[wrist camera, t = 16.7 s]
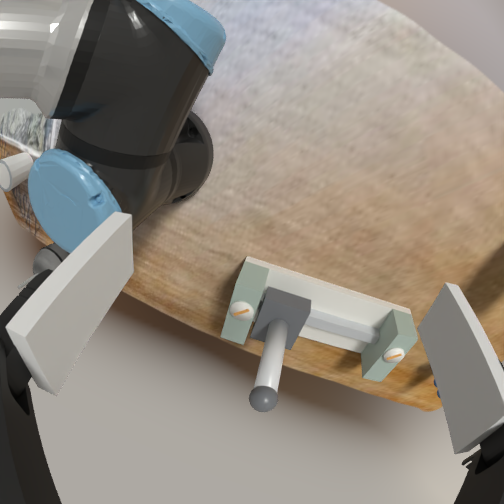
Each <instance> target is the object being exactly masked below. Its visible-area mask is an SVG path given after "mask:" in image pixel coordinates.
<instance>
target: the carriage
mask: <svg viewBox="0 0 504 504" xmlns="http://www.w3.org/2000/svg"><path fill="white" fill-rule="evenodd" d="M310 312H311V300H310V299H307V298H304V297H300V296H297V295H294V294H291V293H288V292H285V291H282V290H279V289H276V288H273V287H269V286H268V288H267V291H266V294H265V296H264V299H263V302H262V304H261V307H260V310H259V312H258V315H257V318H256V320H255V323H254V326H253V329H252V332H251V336H250V338H253V339H256V340H259V341H263V342H265V344H264V348H263V353H262V357H261V361H260V365H259V369H258V374H257V377H256V381H255V385H254V389H253V390H252V391H251V393H250V395H249V401H250V404H251V406H252V407H253V408H254V409H255V410H257V411H259V412H268V411H270V410H272V409H273V408H274V407H275V406H276V404H277V402H278V395H277V389H278V384H279V379H280V373H281V368H282V362H283V356H284V350H285V348H286V349H289V350H291V348H292V346H293V344H294V343H295V341H296V339H297V337H298V335H299V333H300V332H301V330H302V328H303V326H304V324H305V322H306V320H307V318H308V317H309V315H310Z"/></svg>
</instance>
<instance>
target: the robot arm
mask: <svg viewBox="0 0 504 504" xmlns="http://www.w3.org/2000/svg"><path fill="white" fill-rule="evenodd" d="M225 41H226V34H225V30H224V28H223V26H222V25H221V23H220V22H219V21H218V20H217V19H216V18H215V17H213V16H212V15H211V14H209V13H208V12H207V11H205V10H204V9H202V8H201V7H199V6H198V5H196V4H194V3H193V2H191V1H189V0H0V98H22V99H23V98H24V99H31V100H33V101H34V102H35V103H36V104H37V106H38V107H39V109H40V110H41V112H42V113H43V115H44V116H45V118H49V119H62V122H61V126H60V130H59V134H58V139H57V143H56V146H55V148H54V149H50V150H47V151H45V152H43V153H42V155H41V156H40V158H38V159H37V160H36V161H35V162H34V163H33V165H32V167H31V169H30V172H29V177H28V193H29V198H30V202H31V206H32V209H33V211H34V213H35V216H36V218H37V219H38V221H39V222H40V224H41V226H42V228H43V229H44V231H45V232H46V233H47V235H48V236H49V237H50V238H51V239H52V240H53V241H54V242H55V243H56V244H57V245H58V246H60V247H61V248H62V249H64V250H65V251H67V252H68V253H70V255H69V256H68V257H67V258H66V259H65V260H64V261H63V262H62V263H61V264H60V265H59V266H58V267H57V268H56V269H55V270H54V271H53V270H50V269H47V270H45V271H43V272H41V273H40V274H38V275H36V276H35V277H34V278H33V279H32V280H31V281H30V282H29V283H28V284H27V286H26V288H24V289H23V290H22V291H21V292H20V293H19V296H17V297H16V298H15V299H14V300H13V301H12V302H11V303H10V305H9V306H8V307H7V308H6V309H5V310H4V311H3V313H2V314H1V315H0V504H62V503H61V501H60V498H59V496H58V493H57V490H56V488H55V485H54V482H53V479H52V476H51V473H50V470H49V467H48V464H47V461H46V458H45V454H44V451H43V447H42V443H41V439H40V435H39V431H38V427H37V423H36V418H35V413H34V409H33V404H32V398H31V392H30V388H29V386H28V382H29V380H30V378H31V377H32V378H33V379H34V381H35V383H36V384H37V386H38V387H39V388H41V389H43V390H45V391H47V392H49V393H51V394H53V395H55V396H57V395H58V393H59V391H60V389H61V387H62V386H63V384H64V382H65V380H66V379H67V377H68V375H69V373H70V372H71V370H72V368H73V366H74V364H75V363H76V361H77V360H78V358H79V356H80V354H81V353H82V351H83V350H84V348H85V346H86V345H87V343H88V341H89V340H90V338H91V336H92V335H93V333H94V332H95V330H96V328H97V327H98V325H99V324H100V322H101V320H102V319H103V317H104V316H105V314H106V313H107V311H108V310H109V308H110V306H111V305H112V303H113V302H114V300H115V299H116V297H117V296H118V294H119V293H120V291H121V290H122V289H123V287H124V286H125V284H126V283H127V281H128V280H129V278H130V277H131V275H132V274H133V272H134V266H133V243H132V231H133V230H134V229H135V228H136V227H137V226H139V225H140V224H141V223H142V222H143V221H144V220H145V219H146V218H147V217H148V216H149V215H151V214H152V213H153V212H154V211H155V210H156V209H157V208H158V207H160V206H161V205H165V204H171V203H176V202H179V201H182V200H184V199H186V198H188V197H189V196H191V195H192V194H193V193H195V192H196V191H197V190H198V189H199V188H200V187H201V186H202V185H203V183H204V182H205V181H206V179H207V177H208V176H209V173H210V171H211V168H212V163H213V145H212V140H211V137H210V134H209V132H208V130H207V128H206V126H205V125H204V123H203V122H202V120H201V119H200V118H199V117H198V116H197V115H196V114H195V113H193V112H192V111H191V109H192V107H193V105H194V103H195V101H196V99H197V97H198V95H199V93H200V91H201V89H202V87H203V85H204V83H205V81H206V79H207V77H208V76H211V75H212V73H213V66H214V64H215V62H216V60H217V58H218V56H219V54H220V52H221V50H222V48H223V46H224V44H225ZM417 329H418V332H419V334H420V337H421V340H422V342H423V345H424V348H425V351H426V354H427V357H428V360H429V363H430V366H431V369H432V372H433V375H434V378H435V381H436V384H437V388H438V391H439V394H440V398H441V401H442V405H443V408H444V412H445V416H446V420H447V423H448V428H449V431H450V435H451V440H452V444H453V449H454V454H458V453H463V452H468V451H470V450H471V449H472V448H474V447H475V446H477V445H478V444H479V443H480V447H481V449H480V450H478V451H477V452H475V453H474V454H473V455H471V456H470V457H468V458H467V459H465V460H464V461H463V462H462V465H465V464H466V463H467V462H469V461H472V462H471V463H470V464H468V465H467V466H466V468H468V469H469V471H468V473H467V476H466V478H465V481H464V483H463V485H462V487H461V490H460V492H459V494H458V496H457V498H456V500H455V502H454V504H504V367H503V365H502V363H501V362H500V360H499V359H498V358H497V356H496V354H495V352H494V349H493V347H492V345H491V343H490V342H489V340H488V338H487V336H486V334H485V332H484V330H483V328H482V326H481V324H480V323H479V321H478V319H477V317H476V315H475V314H474V312H473V310H472V308H471V307H470V305H469V303H468V301H467V300H466V298H465V296H464V295H463V293H462V291H461V290H460V288H459V286H458V285H455V284H450V283H446V282H445V284H444V286H443V288H442V289H441V291H440V293H439V295H438V296H437V298H436V300H435V301H434V303H433V305H432V306H431V308H430V309H429V311H428V313H427V314H426V316H425V317H424V319H423V320H422V322H421V323H420V325H419V327H418V328H417Z"/></svg>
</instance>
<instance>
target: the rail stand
mask: <svg viewBox="0 0 504 504" xmlns="http://www.w3.org/2000/svg"><path fill="white" fill-rule="evenodd" d="M268 286H269V287H273V288H276V289H279V290H282V291H285V292H288V293H291V294H294V295H297V296H300V297H304V298H307V299H310V300H311V312H310V315H309V317H308V318H307V320H306V322H305V324H304V326H303V328H302V330H301V332H300V333H299V335H298V336H301V337H304V338H308V339H311V340H315V341H318V342H322V343H325V344H329V345H332V346H336V347H340V348H343V349H347V350H351V351H355V352H358V353H361V362H362V378H365V379H370V380H375V381H379V382H381V381H382V380H383V379H384V378H385V377H386V376H387V375H388V374H389V373H390V371H391V370H392V369H393V368H394V367H395V366H396V365H397V364H398V362H399V361H400V360H402V359H403V357H404V356H405V354H406V353H407V352H408V351H409V350H410V348H411V347H412V346H413V345H414V344H415V342H416V341H417V340H418V337H417V333H416V329H415V326H414V322H413V319H412V315H411V312H410V309H408V308H405V307H402V306H399V305H396V304H393V303H390V302H387V301H383V300H380V299H377V298H374V297H371V296H368V295H365V294H362V293H359V292H356V291H353V290H350V289H346V288H343V287H340V286H337V285H334V284H331V283H328V282H325V281H322V280H319V279H316V278H313V277H310V276H307V275H304V274H301V273H298V272H295V271H291V270H288V269H285V268H282V267H279V266H276V265H273V264H270V263H267V262H264V261H261V260H258V259H255V258H252V257H249V256H247V257H246V260H245V262H244V265H243V267H242V269H241V272H240V274H239V277H238V279H237V282H236V284H235V288H234V291H233V295H232V298H231V302H230V305H229V309H228V312H227V316H226V319H225V323H224V326H223V330H222V333H221V338H224V339H227V340H230V341H233V342H236V343H239V344H242V345H244V342H245V339H246V337H247V334H248V332H249V329H250V326H251V324H252V321H253V322H255V320H256V318H257V315H258V312H259V310H260V307H261V304H262V302H263V299H264V296H265V294H266V291H267V288H268Z"/></svg>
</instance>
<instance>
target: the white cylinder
mask: <svg viewBox="0 0 504 504" xmlns="http://www.w3.org/2000/svg"><path fill="white" fill-rule="evenodd" d="M32 165H33V160H32V158H31V156H30V155H29V154H28V153H26V152H24V153H20V154H17V155H14V156H10V157H7V158H4V159H1V160H0V188H1V189H2V190H3V191H5V192H9V191H10V190H11V189H13V188H14V187H16V186H17V185H18V184H20V183H21V182H23V181H24V180H26V179H27V178H28V177H29V172H30V169H31V167H32Z"/></svg>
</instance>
